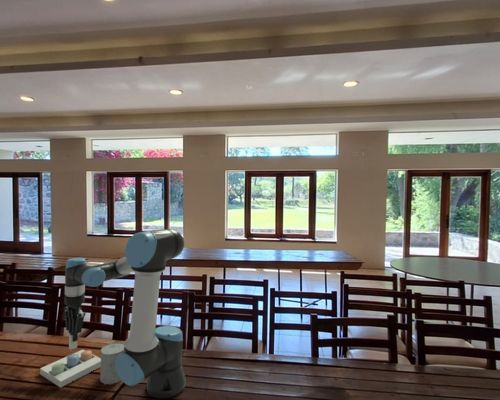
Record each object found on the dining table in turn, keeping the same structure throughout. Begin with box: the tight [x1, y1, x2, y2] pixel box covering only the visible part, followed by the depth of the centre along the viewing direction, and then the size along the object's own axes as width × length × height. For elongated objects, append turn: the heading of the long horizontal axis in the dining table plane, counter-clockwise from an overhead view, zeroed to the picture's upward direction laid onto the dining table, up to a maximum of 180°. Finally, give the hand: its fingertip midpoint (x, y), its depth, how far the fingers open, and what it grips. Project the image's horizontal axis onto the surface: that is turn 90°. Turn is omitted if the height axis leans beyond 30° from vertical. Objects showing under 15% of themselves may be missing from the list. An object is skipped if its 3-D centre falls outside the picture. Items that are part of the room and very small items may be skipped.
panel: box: [39, 349, 101, 388], centre depth 126 cm, size 16×18×2 cm
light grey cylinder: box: [99, 342, 125, 385], centre depth 122 cm, size 10×10×12 cm
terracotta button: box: [81, 349, 93, 362], centre depth 131 cm, size 4×4×4 cm
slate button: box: [66, 353, 79, 369], centre depth 126 cm, size 4×4×4 cm
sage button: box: [52, 363, 64, 376], centre depth 121 cm, size 4×4×4 cm
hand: (73, 347), depth 126 cm, fingers closed
